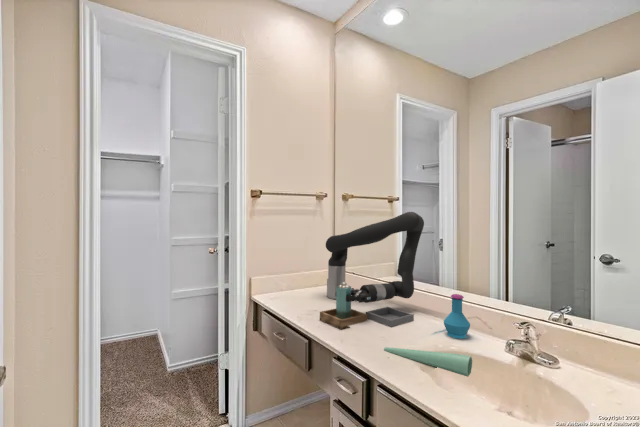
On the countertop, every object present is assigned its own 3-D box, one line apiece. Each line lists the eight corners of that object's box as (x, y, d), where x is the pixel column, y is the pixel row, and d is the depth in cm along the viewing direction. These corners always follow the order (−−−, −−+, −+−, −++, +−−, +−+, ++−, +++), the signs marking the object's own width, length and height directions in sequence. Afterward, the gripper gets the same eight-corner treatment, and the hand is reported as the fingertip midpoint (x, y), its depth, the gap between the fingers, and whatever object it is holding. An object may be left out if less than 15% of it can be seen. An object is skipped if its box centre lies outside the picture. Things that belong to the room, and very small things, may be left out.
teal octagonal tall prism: (333, 318, 139) (333, 281, 139) (344, 316, 143) (344, 279, 143) (342, 322, 134) (343, 284, 134) (353, 319, 138) (354, 282, 138)
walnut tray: (319, 320, 140) (319, 311, 140) (344, 314, 148) (344, 306, 148) (341, 329, 129) (341, 320, 129) (367, 322, 137) (367, 314, 137)
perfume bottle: (465, 331, 129) (465, 292, 129) (473, 340, 120) (474, 298, 120) (440, 330, 130) (441, 291, 130) (447, 339, 121) (447, 297, 121)
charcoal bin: (365, 320, 141) (365, 311, 141) (387, 314, 149) (387, 306, 149) (391, 329, 130) (391, 320, 130) (413, 322, 138) (413, 314, 138)
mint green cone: (387, 332, 113) (472, 353, 96) (387, 348, 113) (472, 372, 96) (380, 336, 108) (467, 359, 92) (380, 353, 108) (467, 379, 92)
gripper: (363, 281, 152) (332, 284, 144) (383, 287, 139) (350, 291, 132) (363, 297, 152) (332, 301, 144) (382, 305, 139) (349, 310, 132)
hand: (340, 296), depth 138 cm, fingers open, 8 cm apart
